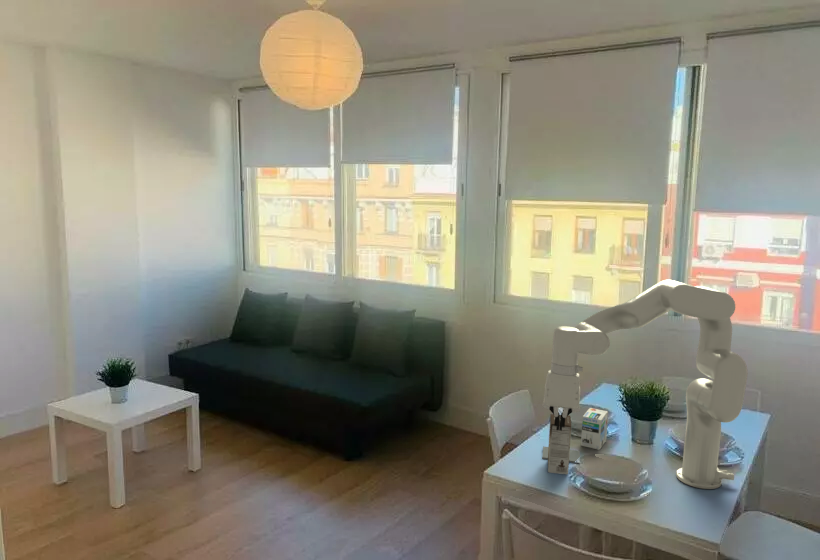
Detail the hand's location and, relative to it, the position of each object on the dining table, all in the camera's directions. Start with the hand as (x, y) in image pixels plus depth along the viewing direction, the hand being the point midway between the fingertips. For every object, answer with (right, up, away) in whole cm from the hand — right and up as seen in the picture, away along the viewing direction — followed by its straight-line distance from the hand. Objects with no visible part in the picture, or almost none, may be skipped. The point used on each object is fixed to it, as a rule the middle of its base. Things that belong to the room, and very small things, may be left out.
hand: (559, 428), depth 180 cm
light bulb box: (+20, -13, +33) cm, 41 cm away
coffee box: (+3, -16, +13) cm, 20 cm away
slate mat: (+6, -14, +21) cm, 26 cm away
